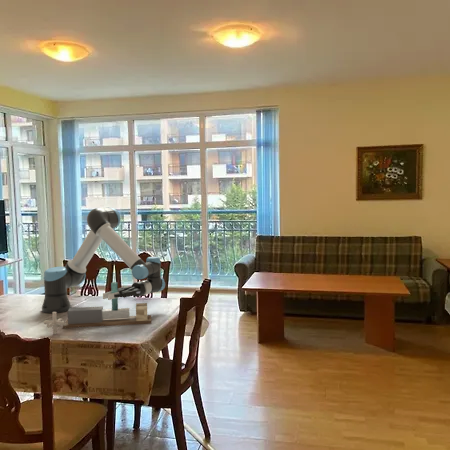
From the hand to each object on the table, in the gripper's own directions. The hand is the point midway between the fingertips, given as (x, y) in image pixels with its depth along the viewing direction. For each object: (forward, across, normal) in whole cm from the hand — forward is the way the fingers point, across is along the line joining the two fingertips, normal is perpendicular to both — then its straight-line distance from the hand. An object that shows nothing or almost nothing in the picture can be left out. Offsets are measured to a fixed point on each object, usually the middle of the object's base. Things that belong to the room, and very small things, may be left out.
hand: (105, 296), depth 223 cm
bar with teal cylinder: (-2, +3, -12) cm, 12 cm away
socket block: (-15, -9, -13) cm, 22 cm away
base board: (-3, +2, -14) cm, 15 cm away
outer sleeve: (+5, +10, -13) cm, 17 cm away
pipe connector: (+23, +8, -14) cm, 28 cm away
